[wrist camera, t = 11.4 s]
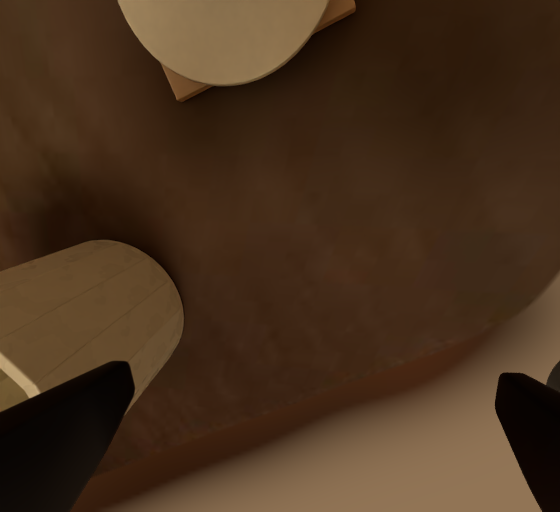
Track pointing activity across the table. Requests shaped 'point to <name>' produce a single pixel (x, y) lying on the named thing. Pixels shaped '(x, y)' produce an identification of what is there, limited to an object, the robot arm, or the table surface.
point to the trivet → (186, 88)
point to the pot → (85, 318)
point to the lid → (223, 35)
